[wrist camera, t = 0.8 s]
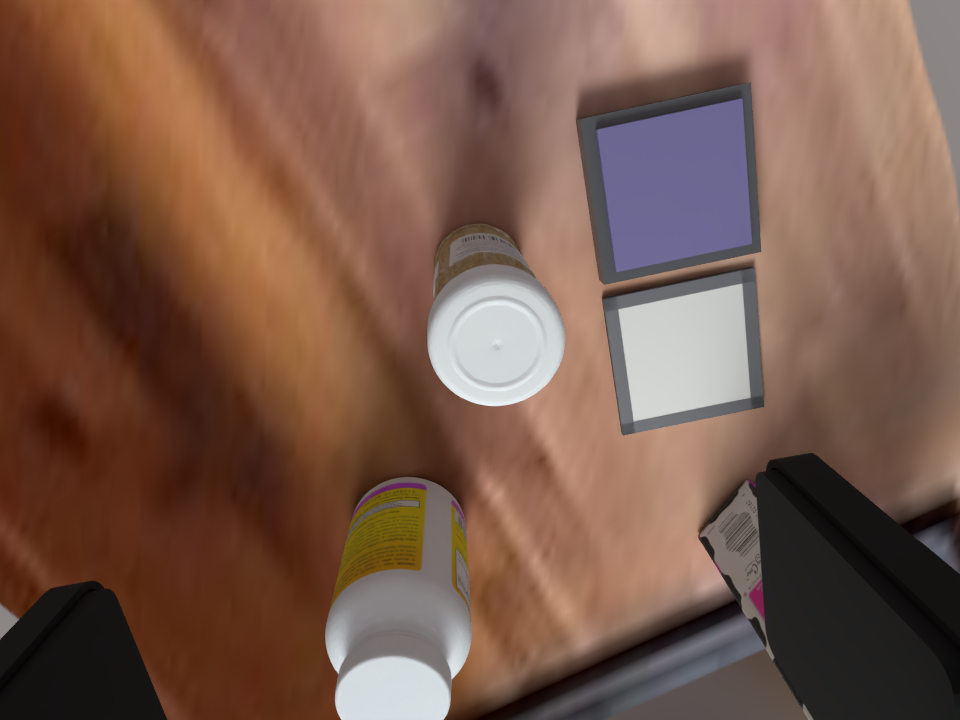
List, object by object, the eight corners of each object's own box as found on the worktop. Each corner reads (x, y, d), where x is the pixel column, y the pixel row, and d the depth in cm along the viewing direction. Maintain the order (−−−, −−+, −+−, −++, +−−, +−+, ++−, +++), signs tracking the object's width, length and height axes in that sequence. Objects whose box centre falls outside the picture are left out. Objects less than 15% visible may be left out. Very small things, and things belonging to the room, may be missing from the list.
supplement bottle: (329, 532, 39) (275, 715, 26) (396, 451, 37) (370, 605, 25) (422, 589, 40) (410, 786, 28) (489, 512, 39) (508, 686, 26)
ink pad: (575, 119, 32) (582, 118, 30) (739, 84, 32) (754, 81, 30) (599, 279, 34) (606, 286, 33) (750, 247, 34) (764, 253, 33)
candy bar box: (690, 538, 40) (845, 795, 24) (743, 475, 39) (941, 703, 23) (826, 615, 42) (1046, 894, 27) (880, 557, 41) (1143, 815, 25)
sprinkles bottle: (420, 286, 34) (402, 376, 21) (458, 205, 33) (464, 249, 20) (498, 323, 35) (527, 431, 22) (538, 245, 34) (593, 312, 21)
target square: (601, 298, 35) (603, 299, 34) (752, 266, 35) (754, 267, 34) (621, 432, 37) (623, 435, 37) (761, 404, 37) (764, 406, 37)
